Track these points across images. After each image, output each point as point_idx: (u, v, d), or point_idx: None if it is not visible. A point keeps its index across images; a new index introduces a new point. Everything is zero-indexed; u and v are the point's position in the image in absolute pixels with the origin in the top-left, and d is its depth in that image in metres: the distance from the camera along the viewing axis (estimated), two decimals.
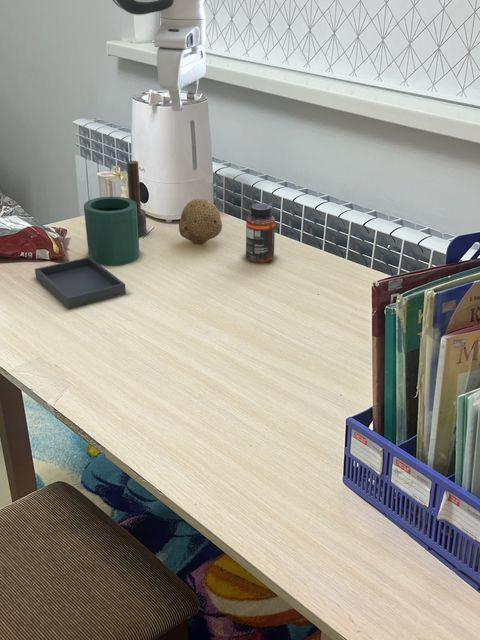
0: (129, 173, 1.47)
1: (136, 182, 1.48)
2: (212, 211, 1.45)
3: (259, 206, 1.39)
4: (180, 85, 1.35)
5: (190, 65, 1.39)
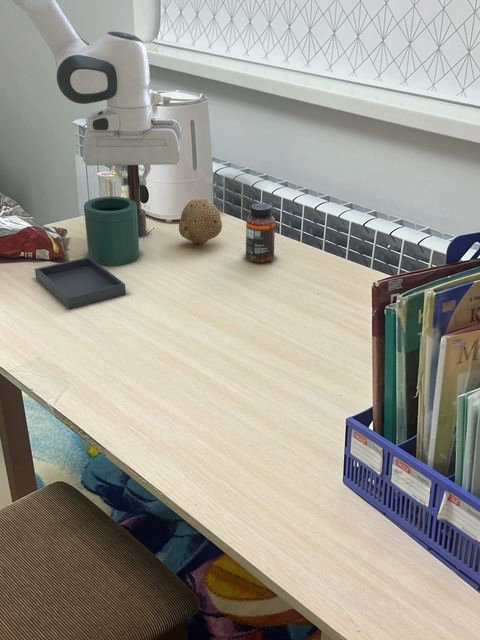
0: (129, 173, 1.47)
1: (136, 182, 1.48)
2: (212, 211, 1.45)
3: (259, 206, 1.39)
4: (94, 162, 1.44)
5: (125, 147, 1.43)
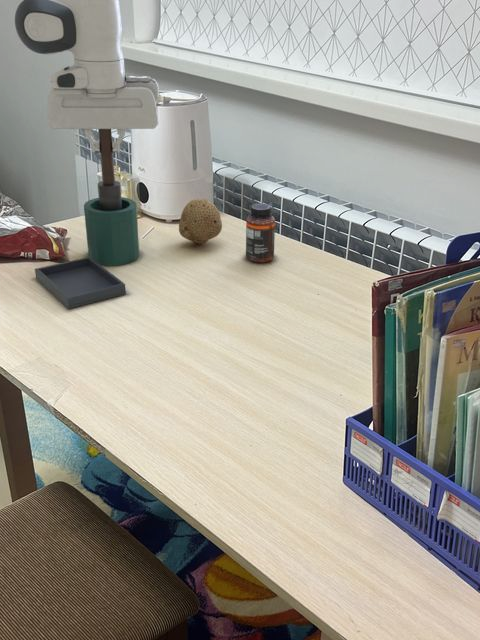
0: (101, 138, 1.30)
1: (109, 149, 1.32)
2: (212, 211, 1.45)
3: (259, 206, 1.39)
4: (61, 125, 1.27)
5: (95, 108, 1.27)
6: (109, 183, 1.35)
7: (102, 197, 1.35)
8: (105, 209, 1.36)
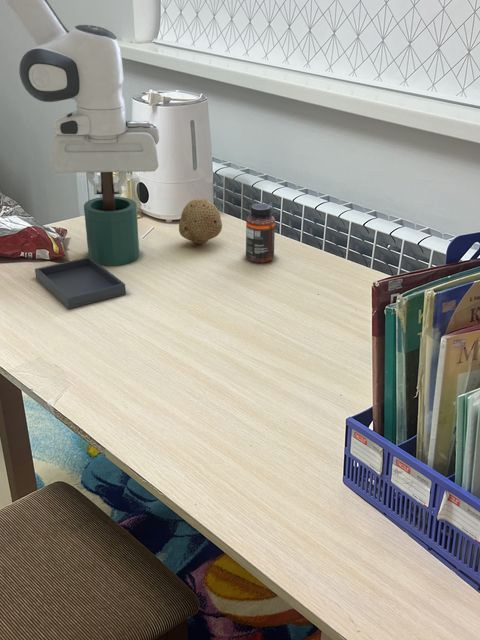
0: (102, 181, 1.34)
1: (110, 191, 1.35)
2: (212, 211, 1.45)
3: (259, 206, 1.39)
4: (64, 169, 1.31)
5: (97, 153, 1.31)
6: None
7: None
8: None
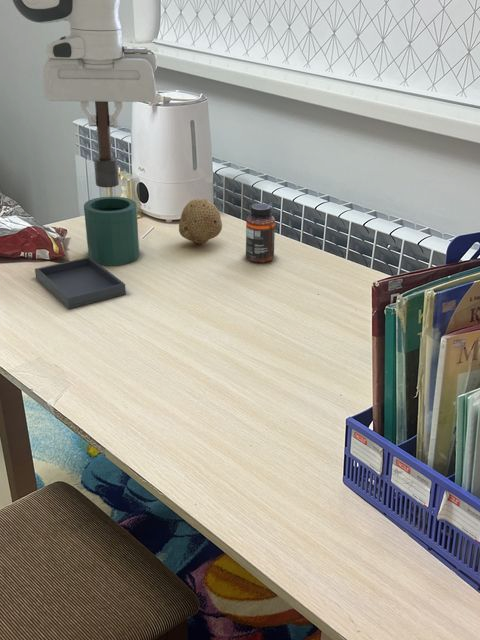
0: (97, 111, 1.28)
1: (106, 122, 1.29)
2: (212, 211, 1.45)
3: (259, 206, 1.39)
4: (56, 97, 1.24)
5: (91, 80, 1.24)
6: (106, 158, 1.32)
7: (98, 172, 1.32)
8: (101, 185, 1.33)
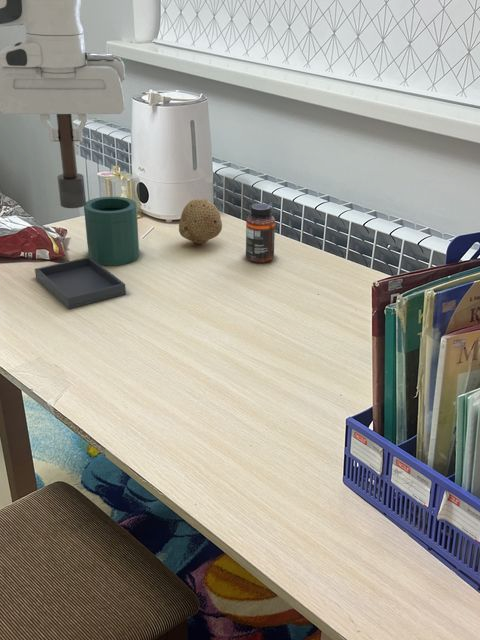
0: (59, 125, 1.15)
1: (69, 137, 1.16)
2: (212, 211, 1.45)
3: (259, 206, 1.39)
4: (12, 109, 1.12)
5: (51, 90, 1.11)
6: (70, 176, 1.19)
7: (63, 191, 1.20)
8: (66, 205, 1.21)
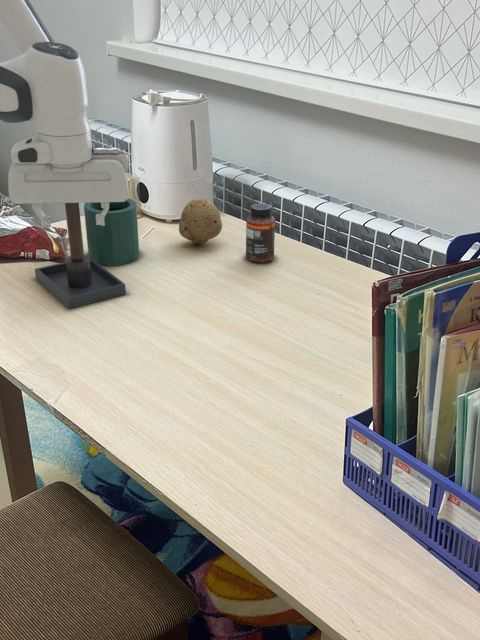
0: (68, 214, 1.22)
1: (77, 225, 1.23)
2: (212, 211, 1.45)
3: (259, 206, 1.39)
4: (23, 200, 1.19)
5: (60, 182, 1.18)
6: (77, 259, 1.26)
7: (70, 273, 1.27)
8: (73, 286, 1.28)
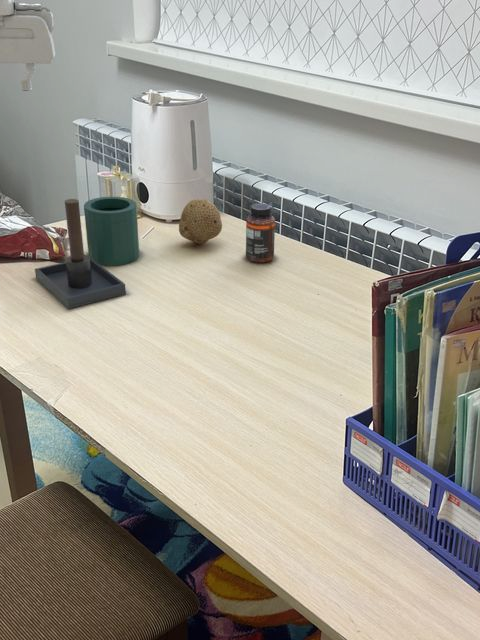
0: (68, 214, 1.22)
1: (77, 225, 1.23)
2: (212, 211, 1.45)
3: (259, 206, 1.39)
4: None
5: None
6: (77, 259, 1.26)
7: (70, 273, 1.27)
8: (73, 286, 1.28)
